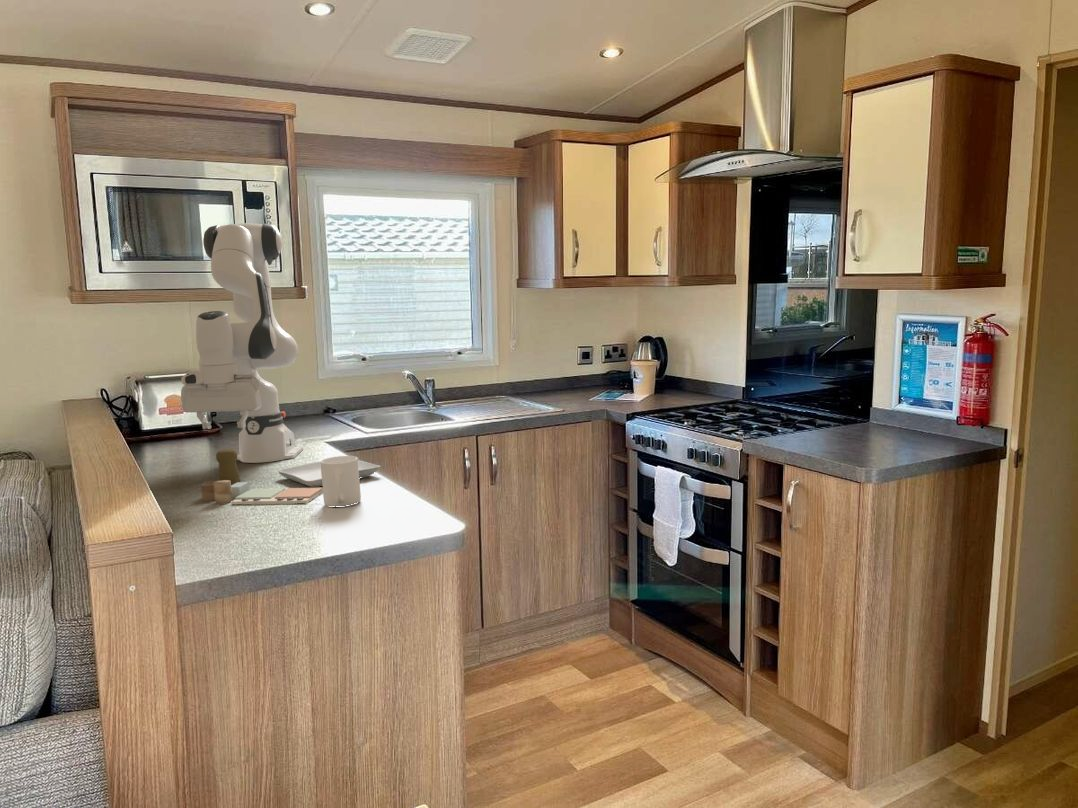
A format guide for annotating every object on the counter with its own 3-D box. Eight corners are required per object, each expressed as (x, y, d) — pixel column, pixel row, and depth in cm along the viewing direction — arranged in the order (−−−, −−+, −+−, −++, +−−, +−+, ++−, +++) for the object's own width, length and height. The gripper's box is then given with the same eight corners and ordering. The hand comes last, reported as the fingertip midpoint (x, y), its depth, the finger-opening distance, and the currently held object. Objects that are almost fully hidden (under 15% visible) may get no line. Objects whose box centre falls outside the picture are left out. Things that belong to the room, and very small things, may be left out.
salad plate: (276, 480, 220) (275, 468, 219) (347, 467, 233) (346, 455, 233) (309, 493, 204) (308, 480, 203) (383, 478, 217) (382, 465, 216)
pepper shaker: (234, 486, 213) (230, 446, 211) (247, 489, 209) (243, 448, 208) (213, 491, 208) (209, 450, 207) (225, 494, 205) (221, 452, 203)
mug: (319, 513, 183) (315, 468, 181) (326, 500, 194) (322, 457, 193) (358, 510, 184) (354, 465, 182) (362, 497, 195) (359, 454, 194)
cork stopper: (220, 499, 200) (218, 480, 199) (235, 499, 199) (233, 480, 199) (212, 504, 196) (210, 484, 195) (227, 503, 195) (225, 483, 195)
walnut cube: (206, 497, 204) (205, 481, 203) (223, 495, 204) (221, 480, 204) (202, 500, 200) (201, 485, 199) (219, 499, 200) (217, 484, 200)
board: (252, 493, 205) (251, 488, 205) (323, 491, 203) (323, 487, 203) (231, 504, 194) (231, 500, 194) (306, 503, 192) (306, 498, 192)
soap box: (238, 493, 206) (237, 482, 206) (249, 493, 206) (248, 482, 205) (229, 498, 201) (228, 487, 201) (240, 498, 201) (239, 487, 200)
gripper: (263, 372, 206) (268, 425, 208) (188, 375, 209) (194, 427, 211) (251, 375, 200) (257, 429, 202) (174, 378, 202) (181, 431, 204)
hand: (224, 428), depth 206 cm, fingers open, 8 cm apart
